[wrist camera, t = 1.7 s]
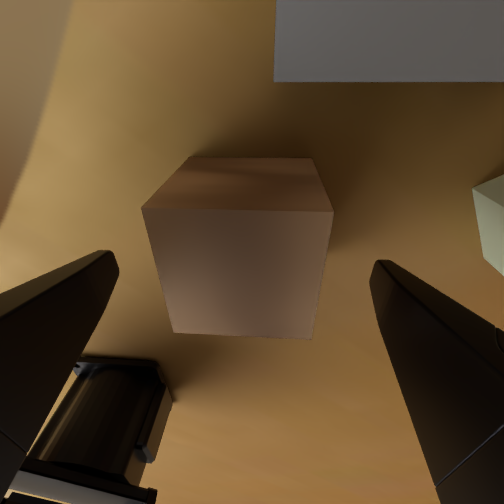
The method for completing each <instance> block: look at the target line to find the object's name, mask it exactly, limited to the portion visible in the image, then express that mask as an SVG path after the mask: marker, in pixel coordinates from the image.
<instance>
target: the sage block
mask: <svg viewBox="0 0 504 504" xmlns="http://www.w3.org/2000/svg"><path fill="white" fill-rule="evenodd" d="M472 193H473V199H474V204H475V210H476V216H477V222H478V228H479V233H480V239H481V245H482V251H483V257H484V259H485V260H487V261H488V262H489V263H490V264H491V265H492V266H493V267H494V268H495V269H496V270H498V271H499V272H500V273H501V274H502V275H503V276H504V175H501V176H499V177H497V178H494V179H492V180H489V181H487V182H485V183H482V184H480V185H477V186H475V187H473V188H472Z"/></svg>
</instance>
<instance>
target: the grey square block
mask: <svg viewBox="0 0 504 504" xmlns="http://www.w3.org/2000/svg"><path fill="white" fill-rule="evenodd" d="M273 82H504V0H276V22H275V50H274V78H273Z"/></svg>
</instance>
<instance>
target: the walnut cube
mask: <svg viewBox="0 0 504 504" xmlns="http://www.w3.org/2000/svg"><path fill="white" fill-rule="evenodd" d="M141 210H142V214H143V218H144V221H145V225H146V229H147V233H148V237H149V241H150V244H151V248H152V252H153V256H154V260H155V263H156V267H157V271H158V275H159V279H160V283H161V286H162V290H163V294H164V298H165V302H166V305H167V309H168V313H169V317H170V321H171V325H172V328H173V332H174V333H189V334H209V335H228V336H247V337H266V338H286V339H305V340H311V338H312V333H313V327H314V322H315V316H316V311H317V305H318V300H319V294H320V289H321V283H322V278H323V272H324V267H325V261H326V256H327V250H328V244H329V239H330V233H331V228H332V222H333V217H334V210H333V208H332V205H331V203H330V200H329V198H328V196H327V193H326V191H325V188H324V186H323V184H322V181H321V179H320V176H319V174H318V172H317V169H316V167H315V164H314V162H313V160H312V158H250V157H189V158H188V159H187V160H186V161H185V162H184V163H183V164H182V165H181V166H180V167H179V168H178V169H177V170H176V172H175V173H174V174H173V175H172V176H171V177H170V178H169V179H168V180H167V181H166V182H165V183H164V184H163V185H162V186H161V187H160V188H159V189H158V190H157V191H156V192H155V193H154V195H153V196H152V197H151V198H150V199H149V200H148V201H147V202H146V203H145V204H144V205H143V206H142V207H141Z"/></svg>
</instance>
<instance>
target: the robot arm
mask: <svg viewBox="0 0 504 504" xmlns="http://www.w3.org/2000/svg"><path fill="white" fill-rule="evenodd" d="M118 277H119V267H118V264H117V261H116V259H115V256H114V253H113V252H112V251H110V250H98V251H96V252H93V253H91V254H89V255H87V256H84V257H82V258H80V259H78V260H75V261H73V262H71V263H69V264H66V265H64V266H62V267H60V268H57V269H55V270H53V271H51V272H48V273H46V274H44V275H42V276H39V277H37V278H35V279H33V280H30V281H28V282H26V283H24V284H21V285H19V286H17V287H15V288H12V289H10V290H8V291H6V292H3V293H1V294H0V504H62V503H58V502H53V501H49V500H45V499H41V498H36V497H32V496H28V495H24V494H20V493H15V492H12V493H11V495H10V496H9V498H5V497H4V496H5V494H6V492H7V490H8V489H13V490H17V491H21V492H25V493H29V494H33V495H38V496H42V497H46V498H50V499H54V500H59V501H63V502H67V503H71V504H155V502H156V497H157V489H153V488H147V489H146V488H142V487H139V484H140V481H141V478H142V475H143V472H144V469H145V465H146V463H152V462H153V461H154V460H155V458H156V455H157V452H158V448H159V445H160V442H161V439H162V435H163V432H164V429H165V425H166V422H167V419H168V416H169V412H170V411H171V408H172V399H171V396H170V394H169V391H168V388H167V386H166V384H165V381H164V378H163V375H162V372H161V369H160V366H159V365H158V364H157V363H156V362H153V361H139V360H122V359H105V358H89V357H80V356H81V354H82V352H83V350H84V348H85V346H86V344H87V343H88V341H89V339H90V337H91V335H92V333H93V332H94V330H95V328H96V326H97V324H98V322H99V321H100V319H101V317H102V315H103V313H104V311H105V308H106V306H107V304H108V301H109V299H110V296H111V294H112V291H113V289H114V287H115V284H116V282H117V279H118ZM369 284H370V290H371V294H372V299H373V304H374V308H375V313H376V317H377V321H378V325H379V329H380V332H381V335H382V337H383V340H384V343H385V346H386V349H387V352H388V354H389V357H390V360H391V363H392V366H393V369H394V372H395V374H396V377H397V380H398V383H399V386H400V389H401V391H402V394H403V397H404V400H405V403H406V406H407V408H408V411H409V414H410V417H411V420H412V423H413V426H414V428H415V431H416V434H417V437H418V440H419V443H420V445H421V448H422V451H423V454H424V457H425V460H426V463H427V465H428V468H429V471H430V474H431V477H432V480H433V482H434V485H435V486H436V492H437V494H438V497H439V500H440V503H441V504H504V331H502V330H501V329H499V328H495V326H494V325H493V324H491V323H490V322H488V321H486V320H485V319H483V318H482V317H480V316H478V315H477V314H475V313H474V312H472V311H470V310H469V309H467V308H466V307H464V306H462V305H461V304H459V303H458V302H456V301H455V300H453V299H451V298H450V297H448V296H447V295H445V294H443V293H442V292H440V291H439V290H437V289H435V288H434V287H432V286H431V285H429V284H427V283H426V282H424V281H423V280H421V279H419V278H418V277H416V276H415V275H413V274H412V273H410V272H408V271H407V270H405V269H404V268H402V267H400V266H399V265H397V264H396V263H394V262H392V261H391V260H377V261H376V262H375V264H374V267H373V270H372V273H371V277H370V281H369ZM72 370H73V371H74V372H75V374H76V375H77V378H76V380H75V381H74V383H73V384H72V386H71V387H70V389H69V390H68V392H67V394H66V395H65V397H64V398H63V400H62V401H61V403H60V405H59V406H58V408H57V409H56V411H55V412H54V414H53V416H52V417H51V419H50V420H49V422H48V423H47V425H46V426H45V428H44V430H43V431H42V433H41V434H40V436H39V437H38V439H37V441H36V442H35V444H34V445H33V447H32V448H31V446H32V444H33V442H34V440H35V438H36V437H37V435H38V433H39V431H40V429H41V427H42V426H43V424H44V422H45V420H46V418H47V416H48V415H49V413H50V411H51V409H52V407H53V405H54V403H55V402H56V400H57V398H58V396H59V394H60V392H61V391H62V389H63V387H64V385H65V383H66V381H67V380H68V378H69V376H70V374H71V372H72ZM30 448H31V450H30ZM29 450H30V451H29ZM28 451H29V453H28V455H27V452H28ZM26 455H27V456H26Z"/></svg>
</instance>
